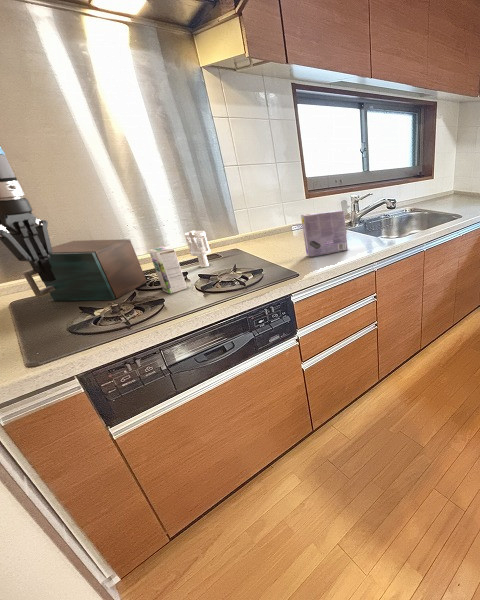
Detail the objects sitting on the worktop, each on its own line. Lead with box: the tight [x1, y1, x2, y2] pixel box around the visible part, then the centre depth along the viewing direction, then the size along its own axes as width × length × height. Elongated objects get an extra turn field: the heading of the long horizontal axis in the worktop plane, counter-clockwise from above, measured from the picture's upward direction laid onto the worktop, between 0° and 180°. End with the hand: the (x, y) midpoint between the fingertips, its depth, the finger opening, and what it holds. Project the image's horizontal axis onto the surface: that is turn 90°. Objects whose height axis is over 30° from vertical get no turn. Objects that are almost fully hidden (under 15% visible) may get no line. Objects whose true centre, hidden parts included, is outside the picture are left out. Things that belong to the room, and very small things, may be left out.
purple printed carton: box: [300, 210, 349, 258], centre depth 141 cm, size 19×5×18 cm, turn 123°
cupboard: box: [51, 238, 148, 299], centre depth 109 cm, size 14×20×16 cm
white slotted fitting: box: [183, 230, 211, 268], centre depth 129 cm, size 7×7×15 cm
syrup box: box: [148, 245, 188, 295], centre depth 108 cm, size 6×6×14 cm
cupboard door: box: [21, 252, 116, 302], centre depth 100 cm, size 6×20×16 cm, turn 89°
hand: (49, 280), depth 96 cm, fingers closed
